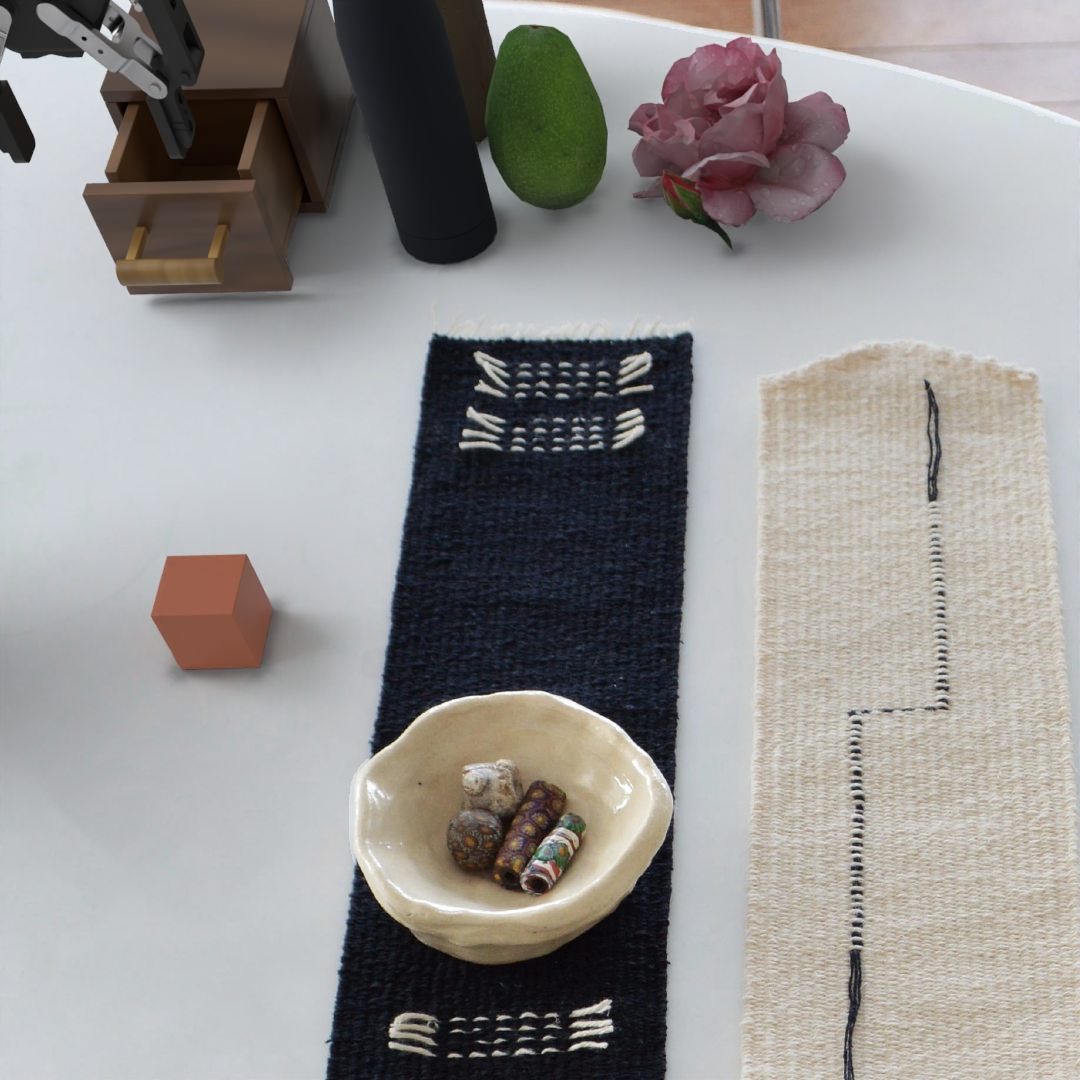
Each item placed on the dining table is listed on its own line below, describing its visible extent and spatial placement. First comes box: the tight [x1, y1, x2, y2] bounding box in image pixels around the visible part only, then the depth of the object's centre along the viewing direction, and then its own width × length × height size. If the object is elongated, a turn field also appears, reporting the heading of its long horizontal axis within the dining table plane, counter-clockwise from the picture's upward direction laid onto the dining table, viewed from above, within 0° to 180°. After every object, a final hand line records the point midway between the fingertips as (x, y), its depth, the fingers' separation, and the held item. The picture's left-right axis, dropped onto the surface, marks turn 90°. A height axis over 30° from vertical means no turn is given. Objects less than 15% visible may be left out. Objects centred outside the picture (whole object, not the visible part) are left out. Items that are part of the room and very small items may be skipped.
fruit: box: [485, 24, 609, 211], centre depth 114 cm, size 8×8×12 cm
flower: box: [627, 36, 851, 252], centre depth 115 cm, size 15×15×10 cm
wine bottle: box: [331, 0, 498, 265], centre depth 104 cm, size 6×6×30 cm
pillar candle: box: [437, 0, 497, 144], centre depth 118 cm, size 10×10×15 cm
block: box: [150, 553, 274, 670], centre depth 97 cm, size 4×4×4 cm
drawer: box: [81, 98, 305, 296], centre depth 112 cm, size 17×10×7 cm, turn 2°
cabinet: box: [99, 0, 356, 214], centre depth 118 cm, size 14×12×9 cm
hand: (103, 152), depth 97 cm, fingers open, 8 cm apart
